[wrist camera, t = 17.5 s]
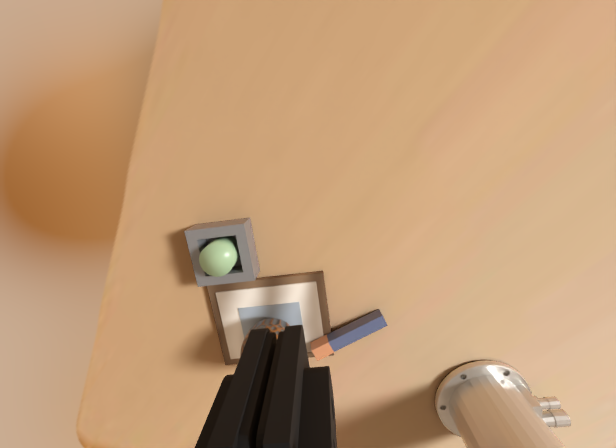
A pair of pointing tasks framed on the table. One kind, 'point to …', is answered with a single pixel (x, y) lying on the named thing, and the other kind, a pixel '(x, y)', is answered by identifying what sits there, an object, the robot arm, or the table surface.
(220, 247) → the button
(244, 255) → the button box
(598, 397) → the table surface
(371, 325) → the marker
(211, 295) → the picture frame
